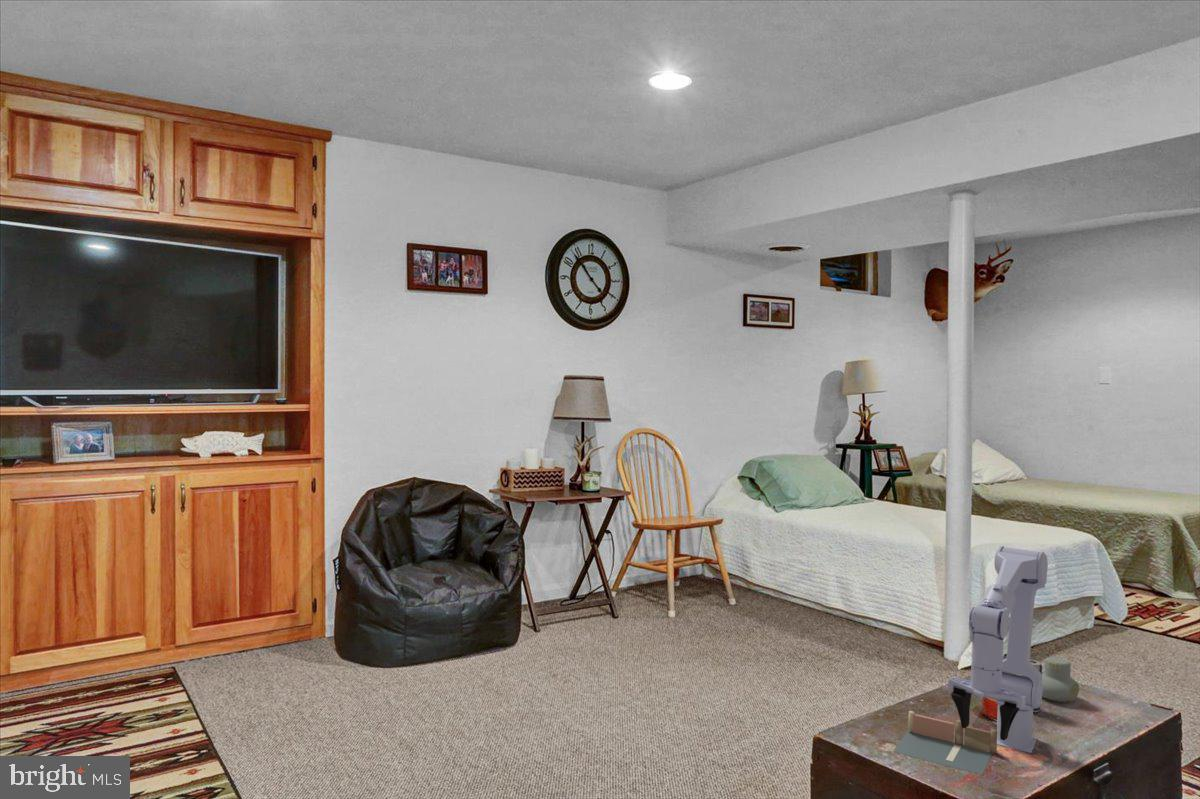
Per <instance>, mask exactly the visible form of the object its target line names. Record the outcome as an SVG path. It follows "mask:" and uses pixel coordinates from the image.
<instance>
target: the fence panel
mask: <svg viewBox="0 0 1200 799" xmlns="http://www.w3.org/2000/svg"><path fill="white" fill-rule="evenodd" d="M907 721H908V723H907V724H908V725H907V732H908V731H909V732H914V733H918V734H922V735H926V736H930V737H934V738H938V739H942V740H946V741H951V742H953V739H955V734H954V733H955V723H954V722H950V721H947V720H942V719H938V718H935V717H934V718H933V717H928V716H926V715H920V714H917V713H915V712H914V711H912V710H909V711H908V720H907Z"/></svg>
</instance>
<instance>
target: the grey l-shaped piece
mask: <svg viewBox="0 0 1200 799" xmlns="http://www.w3.org/2000/svg"><path fill="white" fill-rule="evenodd" d="M1071 667H1072V665H1071V661H1069V659H1066V658H1062V657H1057V656H1048V657H1046V658H1044V671H1043V672H1042V686H1043V694H1042V698H1044V697H1045V699H1046V698H1047V699H1046V700H1049V699H1050V700H1049V701H1052V700H1054V701H1053V702H1056V701H1060V702H1059V703H1064V702H1067V703H1070V702H1073V701H1074V700H1076V699H1077V698H1078V695H1079V691H1080V684H1079V683H1078V682H1077V681H1076V680H1075V679H1074V678H1072V677H1071V669H1072V668H1071ZM1069 701H1070V702H1069Z"/></svg>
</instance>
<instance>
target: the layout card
mask: <svg viewBox="0 0 1200 799" xmlns="http://www.w3.org/2000/svg"><path fill="white" fill-rule="evenodd" d="M892 753H896V754H900V755H904V756H907V757H908V756H909V757H912V758H915V759H919V760H923V761H927V762H930V763H935V764H938V765H941V766H945V767H948V768H949V767H950V768H954V769H958V770H962V771H964V772H968V773H973V774H976V775H977V774H978V775H980V776H983V775H984V773H985V770H986V769H987V766H988V765H989V763H990V760H991V759H992V756H993V754H992V753H990V752H986V751H982V750H978V749H973V748H969V747H965V746H964V741H963V745H962V746H958V745H956V744H955V738H953V742H951V741H946V740H942V739H938V738H934V737H930V736H926V735H922V734H918V733H914V732H909V731H908V730H907V732H906V733H905V735H904V736H903V737H902V739H901V740H900V742H899V743H898V744H897V745H896V746H895V748H894V749H893V750H892Z"/></svg>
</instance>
